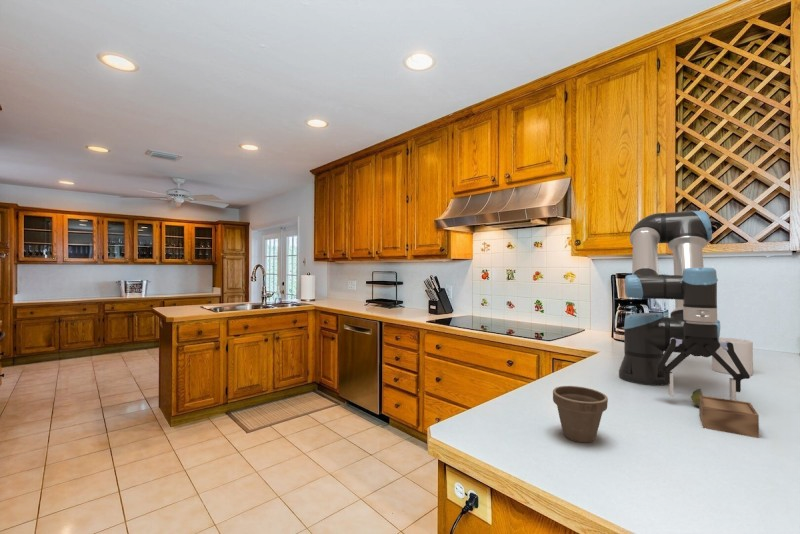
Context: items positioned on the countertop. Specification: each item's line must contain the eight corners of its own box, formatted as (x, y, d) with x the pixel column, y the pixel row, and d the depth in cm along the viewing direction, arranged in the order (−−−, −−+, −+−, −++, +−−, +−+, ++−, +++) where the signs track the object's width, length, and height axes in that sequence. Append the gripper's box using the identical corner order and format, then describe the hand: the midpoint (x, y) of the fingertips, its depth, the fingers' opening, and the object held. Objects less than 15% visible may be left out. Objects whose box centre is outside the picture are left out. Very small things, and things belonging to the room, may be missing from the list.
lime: (701, 404, 109) (701, 386, 109) (716, 410, 104) (715, 392, 104) (686, 404, 109) (686, 386, 109) (700, 410, 104) (699, 392, 104)
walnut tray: (702, 429, 92) (702, 406, 92) (699, 416, 101) (699, 395, 101) (758, 439, 87) (758, 415, 87) (750, 424, 95) (750, 402, 95)
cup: (746, 377, 137) (746, 344, 137) (707, 370, 147) (706, 339, 147) (757, 373, 143) (757, 341, 143) (718, 366, 153) (718, 336, 153)
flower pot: (616, 450, 80) (616, 402, 81) (559, 446, 82) (559, 399, 82) (598, 428, 92) (597, 386, 92) (548, 425, 94) (548, 384, 94)
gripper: (648, 321, 110) (648, 395, 109) (764, 327, 97) (765, 411, 97) (646, 318, 116) (646, 389, 116) (754, 324, 104) (756, 403, 103)
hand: (701, 399), depth 106 cm, fingers open, 13 cm apart
